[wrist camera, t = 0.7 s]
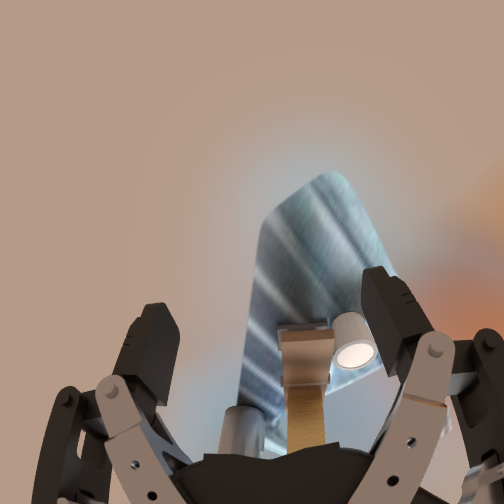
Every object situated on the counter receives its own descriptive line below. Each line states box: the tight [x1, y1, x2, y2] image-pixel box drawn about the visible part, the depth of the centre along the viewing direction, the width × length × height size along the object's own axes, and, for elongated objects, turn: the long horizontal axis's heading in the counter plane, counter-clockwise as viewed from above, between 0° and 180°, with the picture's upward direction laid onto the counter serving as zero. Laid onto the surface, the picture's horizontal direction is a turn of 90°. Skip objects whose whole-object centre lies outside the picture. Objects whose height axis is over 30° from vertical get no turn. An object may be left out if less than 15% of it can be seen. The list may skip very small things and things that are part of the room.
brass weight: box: [287, 393, 325, 454], centre depth 31 cm, size 5×5×12 cm
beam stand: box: [277, 322, 328, 351], centre depth 39 cm, size 5×8×8 cm, turn 96°
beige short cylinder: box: [331, 312, 378, 371], centre depth 38 cm, size 7×7×7 cm
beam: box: [281, 329, 335, 413], centre depth 34 cm, size 20×7×2 cm, turn 6°
